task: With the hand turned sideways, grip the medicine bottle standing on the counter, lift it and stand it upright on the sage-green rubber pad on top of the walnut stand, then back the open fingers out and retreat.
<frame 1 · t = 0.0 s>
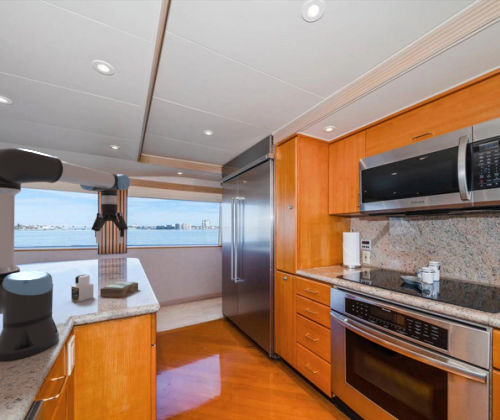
hand: (109, 243, 127), 28 cm above the counter, tool pointing down, fingers open, 13 cm apart
walnut stand: (120, 292, 131), on the counter
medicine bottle: (82, 299, 122), on the counter
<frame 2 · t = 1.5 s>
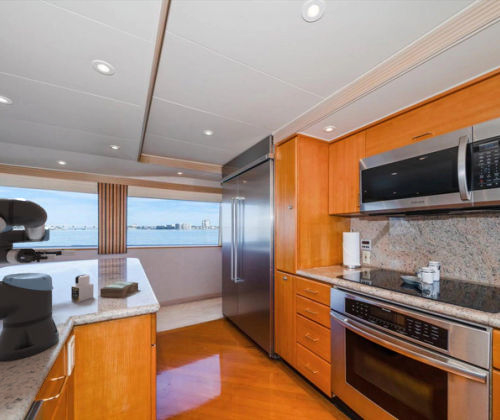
hand: (65, 254, 122), 23 cm above the counter, tool horizontal, fingers open, 13 cm apart
nothing on the counter moved.
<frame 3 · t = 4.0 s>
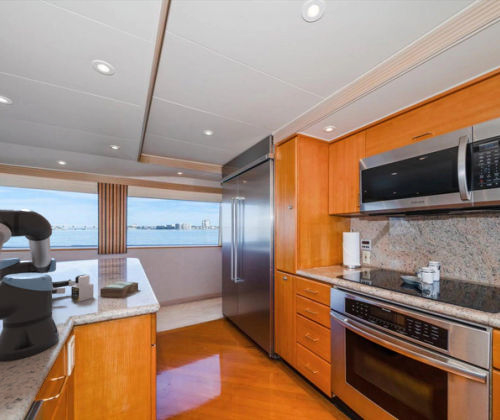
hand: (73, 286, 122), 6 cm above the counter, tool horizontal, fingers open, 13 cm apart
nothing on the counter moved.
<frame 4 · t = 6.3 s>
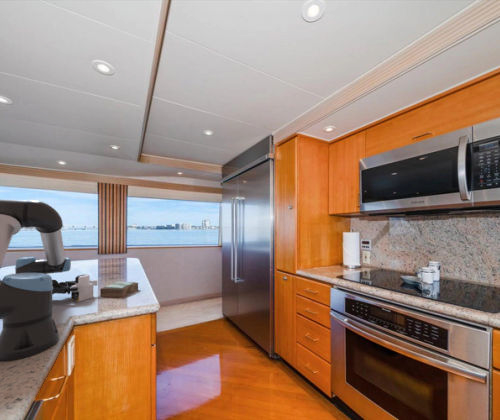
hand: (91, 285, 123), 7 cm above the counter, tool horizontal, fingers closed on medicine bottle, 10 cm apart
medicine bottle: (82, 299, 122), on the counter, touching gripper
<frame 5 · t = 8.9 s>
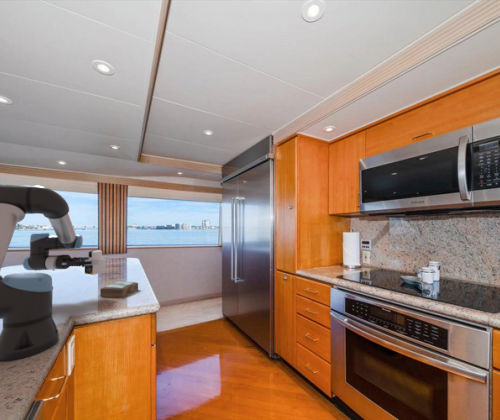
hand: (104, 260, 127), 19 cm above the counter, tool horizontal, fingers closed on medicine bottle, 10 cm apart
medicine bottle: (95, 273, 126), point 12 cm above the counter, touching gripper
when the fingers open (12 cm above the counter, at t = 11.7 s): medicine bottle drops 1 cm, resting on walnut stand.
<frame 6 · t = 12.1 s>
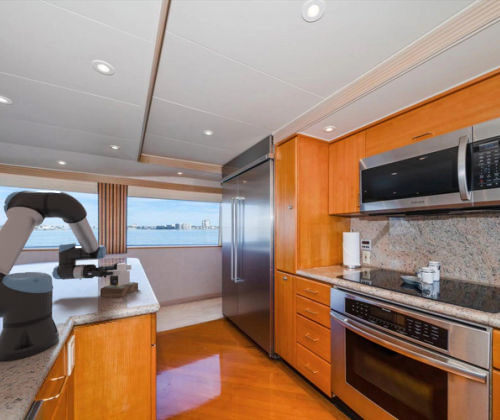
hand: (126, 269, 131), 12 cm above the counter, tool horizontal, fingers open, 13 cm apart
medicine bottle: (120, 284, 131), point 4 cm above the counter, touching walnut stand
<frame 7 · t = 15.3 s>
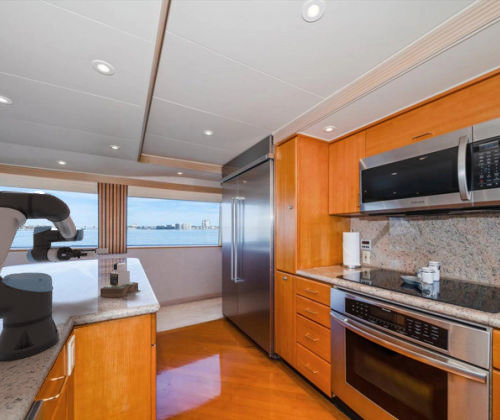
hand: (101, 252, 131), 23 cm above the counter, tool horizontal, fingers open, 13 cm apart
nothing on the counter moved.
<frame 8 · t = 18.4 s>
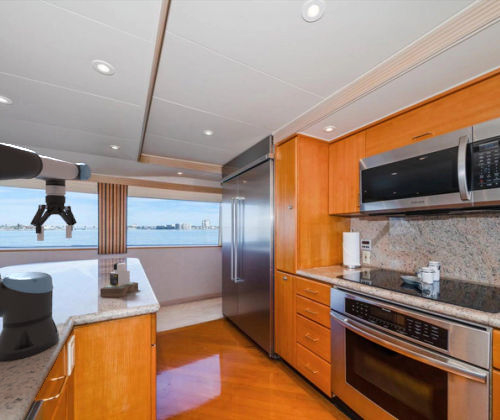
hand: (55, 239, 113), 32 cm above the counter, tool pointing down, fingers open, 13 cm apart
nothing on the counter moved.
at the end: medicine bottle inside the target area on the walnut stand (0.2 cm from its centre), point 4.3 cm above the walnut stand's base; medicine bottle tilted 0°; the gripper is holding nothing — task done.
